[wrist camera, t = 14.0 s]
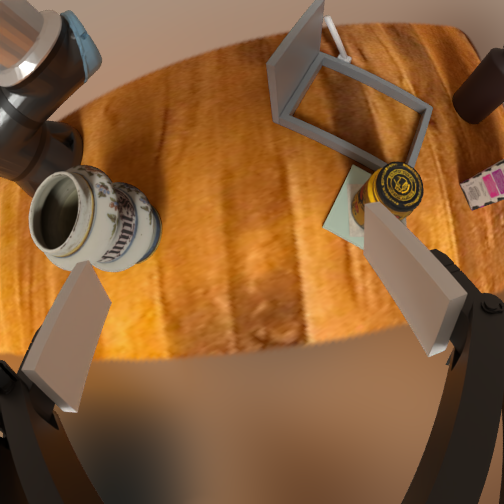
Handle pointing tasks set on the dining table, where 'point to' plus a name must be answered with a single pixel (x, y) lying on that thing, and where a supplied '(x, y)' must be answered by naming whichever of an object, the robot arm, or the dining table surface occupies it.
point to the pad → (345, 208)
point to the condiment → (385, 194)
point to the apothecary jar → (93, 221)
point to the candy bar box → (485, 186)
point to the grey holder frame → (304, 72)
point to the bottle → (482, 89)
